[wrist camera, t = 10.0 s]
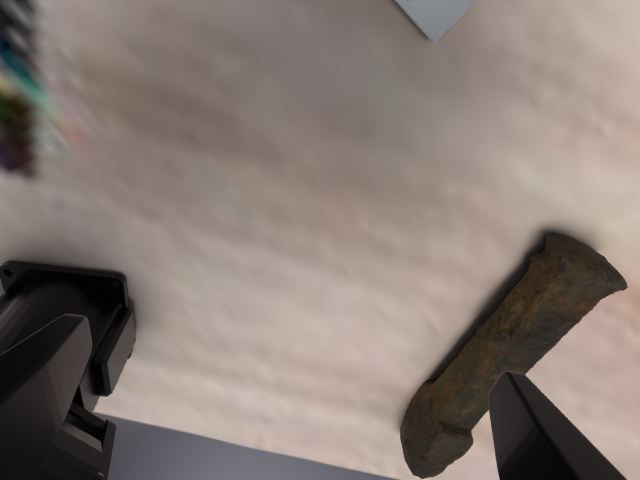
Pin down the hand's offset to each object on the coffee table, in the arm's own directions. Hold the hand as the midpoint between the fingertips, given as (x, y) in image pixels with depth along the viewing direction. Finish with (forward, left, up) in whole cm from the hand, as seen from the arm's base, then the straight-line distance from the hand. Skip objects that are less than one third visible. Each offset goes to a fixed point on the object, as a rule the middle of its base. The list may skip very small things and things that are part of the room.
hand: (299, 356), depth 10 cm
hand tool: (+13, -12, -14) cm, 22 cm away
